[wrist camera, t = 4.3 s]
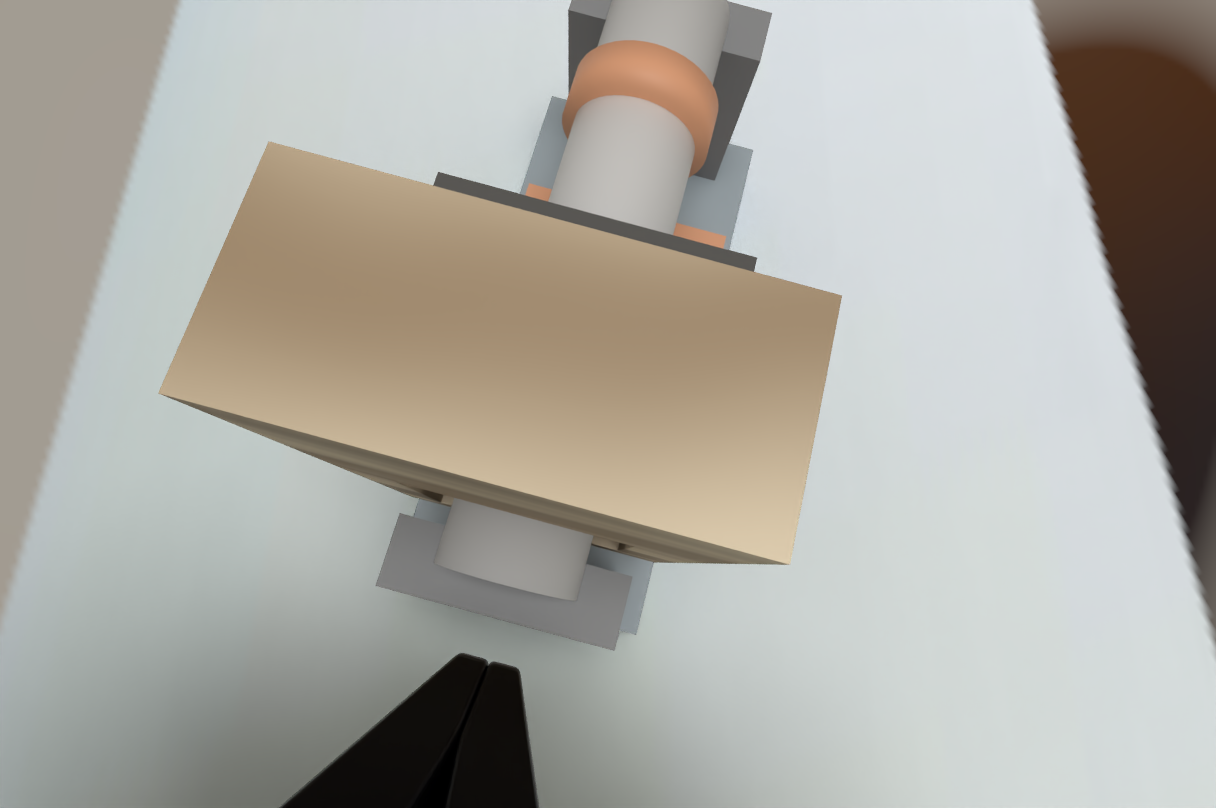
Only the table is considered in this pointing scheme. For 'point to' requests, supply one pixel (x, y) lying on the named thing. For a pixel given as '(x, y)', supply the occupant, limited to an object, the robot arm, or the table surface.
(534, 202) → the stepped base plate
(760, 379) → the sleeve
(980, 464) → the table surface
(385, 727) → the robot arm
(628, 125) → the pipe stand
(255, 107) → the table surface
